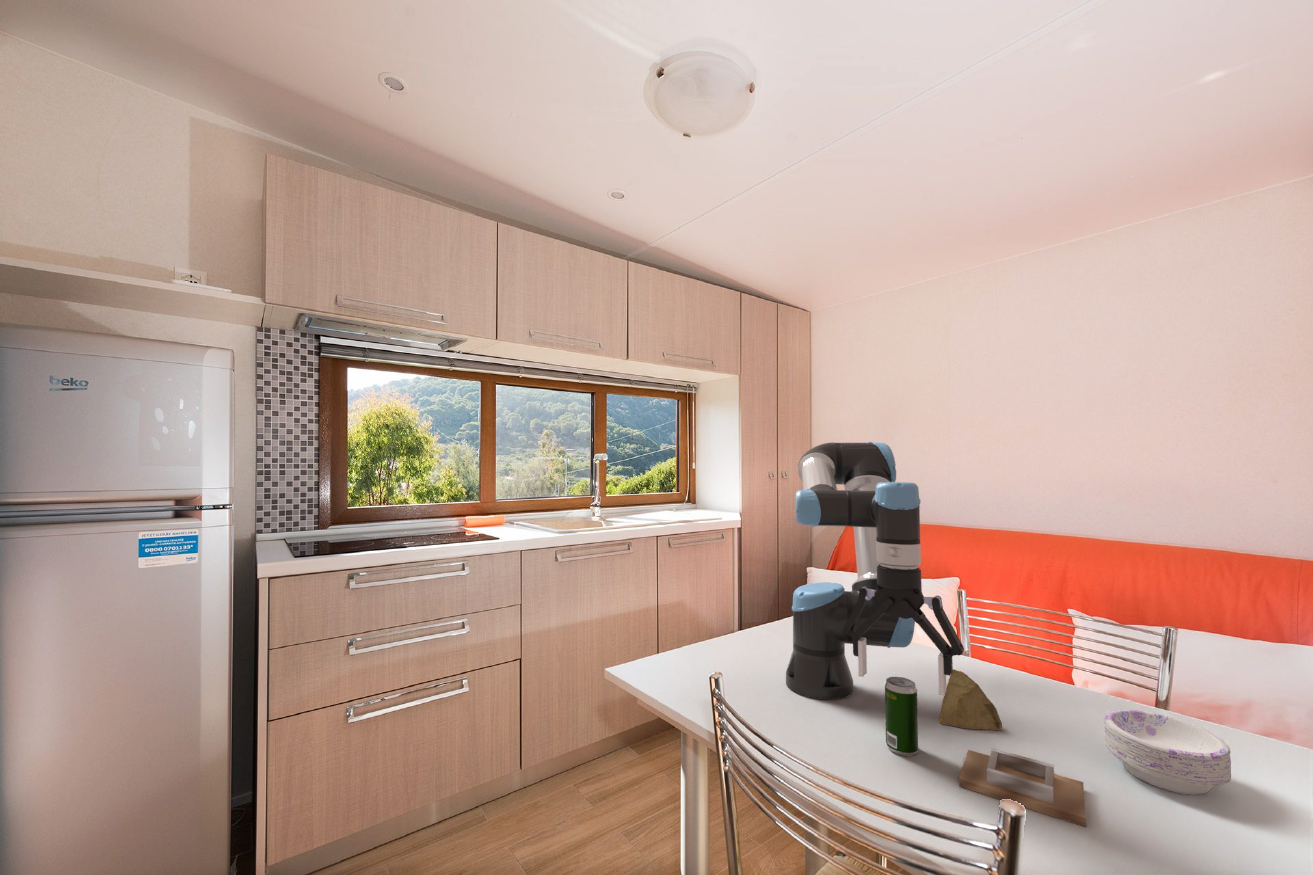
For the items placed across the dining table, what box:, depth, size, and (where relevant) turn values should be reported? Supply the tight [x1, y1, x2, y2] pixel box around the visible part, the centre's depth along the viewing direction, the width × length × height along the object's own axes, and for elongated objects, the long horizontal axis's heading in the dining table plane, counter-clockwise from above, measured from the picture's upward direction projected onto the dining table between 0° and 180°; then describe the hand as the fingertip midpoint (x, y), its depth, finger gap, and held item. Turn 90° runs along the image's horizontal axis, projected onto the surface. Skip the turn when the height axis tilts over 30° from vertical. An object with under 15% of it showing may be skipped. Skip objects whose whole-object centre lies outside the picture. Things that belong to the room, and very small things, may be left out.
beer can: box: [884, 676, 919, 757], centre depth 98 cm, size 5×5×12 cm
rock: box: [938, 668, 1004, 731], centre depth 106 cm, size 11×9×10 cm
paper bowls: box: [1103, 709, 1232, 796], centre depth 89 cm, size 15×15×8 cm
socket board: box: [958, 747, 1087, 828], centre depth 86 cm, size 16×11×3 cm
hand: (901, 683), depth 97 cm, fingers open, 13 cm apart
